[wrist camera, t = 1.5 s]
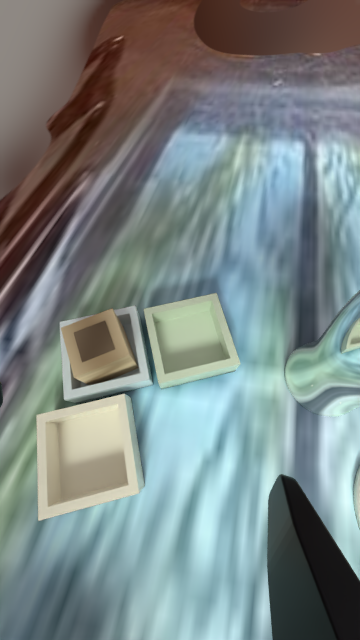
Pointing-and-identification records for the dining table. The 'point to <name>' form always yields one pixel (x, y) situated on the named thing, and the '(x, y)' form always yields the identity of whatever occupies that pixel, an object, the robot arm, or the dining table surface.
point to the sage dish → (190, 340)
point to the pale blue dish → (126, 382)
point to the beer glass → (329, 366)
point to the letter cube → (98, 348)
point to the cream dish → (87, 456)
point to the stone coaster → (357, 496)
